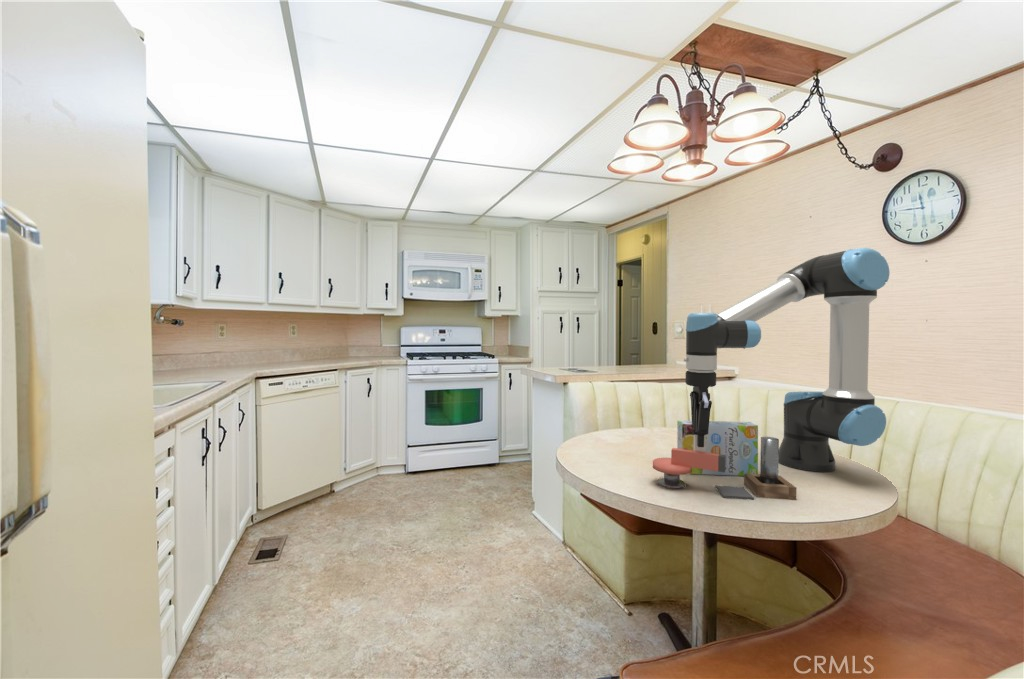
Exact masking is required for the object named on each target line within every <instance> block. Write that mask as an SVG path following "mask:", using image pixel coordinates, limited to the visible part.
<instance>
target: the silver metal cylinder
mask: <svg viewBox="0 0 1024 679" xmlns="http://www.w3.org/2000/svg"><path fill="white" fill-rule="evenodd" d="M779 447H780V440H779V438H778V437H773V436H760V464H759V465H760V469H759V470H760V471H759V474H760V482H761V483H765V484H778V475H779V462H778V460H779Z"/></svg>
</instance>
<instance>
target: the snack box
mask: <svg viewBox="0 0 1024 679" xmlns="http://www.w3.org/2000/svg"><path fill="white" fill-rule="evenodd" d="M676 428H677V430H676V431H677V432H676V434H677V438H676V440H677V443H676V444H677V447H676V448H678V449H685V450H693V449H694V435H693V432H694V431H693V428H692V420H677V427H676ZM705 452H707V453H714V454H722V455H726V460H725V472H718V471H712V470H705V469H699V468H693V467H692V472H691V473H689V474H688V475H704V476H705V475H708V476H710V475H711V476H739V477H744V474H759V425H758V424H755V423H753V422H751V421H725V420H724V421H723V420H722V421H719V420H718V421H717V420H716V421H715V420H709V430H708V434H706V441H705Z"/></svg>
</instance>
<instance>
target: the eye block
mask: <svg viewBox="0 0 1024 679" xmlns="http://www.w3.org/2000/svg"><path fill="white" fill-rule="evenodd" d="M743 485H744V486H745V487H746V488H747V489H748V490H749V491H750V492H751V494H753V495H754V496H755V497H756V498H765V499H779V500H780V499H781V500H782V499H783V500H795V501H796V500H797V486H795V485H793V484H792V483H791V482H790V481H788V480H787V479H785V478H784V477H783V476H782V475H779V474H778V484H765V483H761V482H760V473H758V474H744V476H743Z"/></svg>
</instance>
